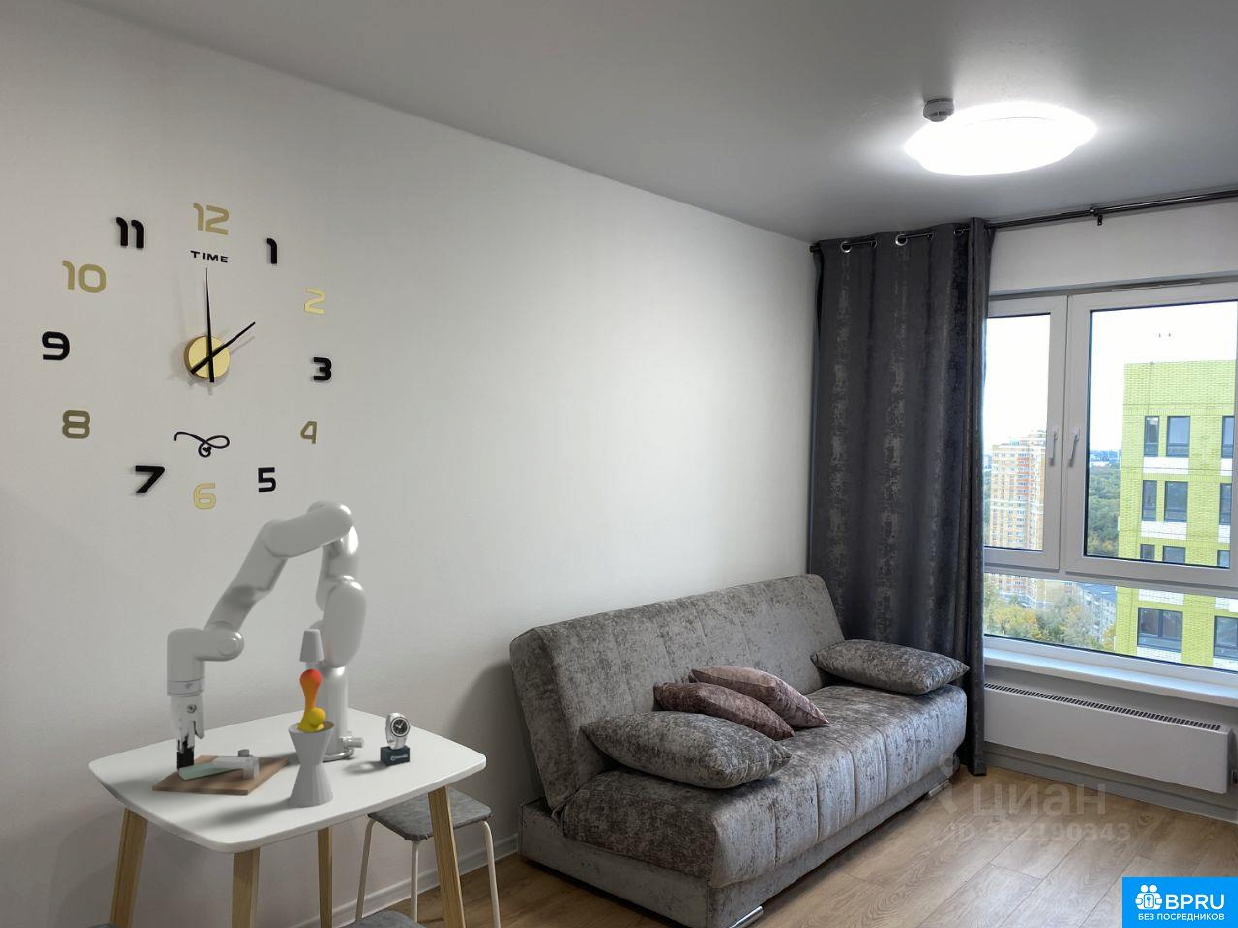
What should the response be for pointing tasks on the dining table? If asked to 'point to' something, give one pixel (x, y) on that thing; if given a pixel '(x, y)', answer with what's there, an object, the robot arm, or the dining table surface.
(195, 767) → the link
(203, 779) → the board
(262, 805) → the dining table surface
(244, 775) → the keeper
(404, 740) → the watch
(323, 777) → the lava lamp
